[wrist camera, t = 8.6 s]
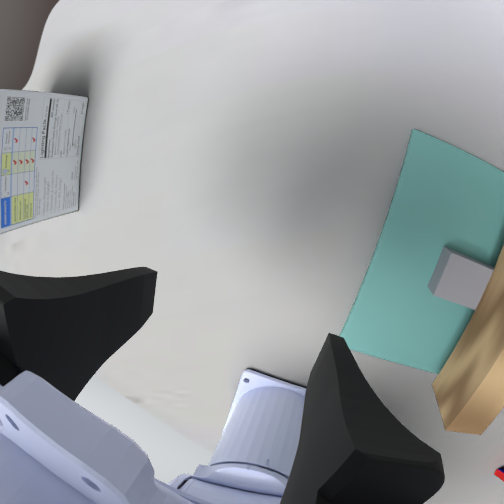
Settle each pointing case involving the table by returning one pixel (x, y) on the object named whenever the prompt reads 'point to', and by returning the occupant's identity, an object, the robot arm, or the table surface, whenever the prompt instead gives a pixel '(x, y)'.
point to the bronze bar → (476, 365)
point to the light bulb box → (39, 155)
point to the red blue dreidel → (500, 473)
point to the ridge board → (430, 257)
